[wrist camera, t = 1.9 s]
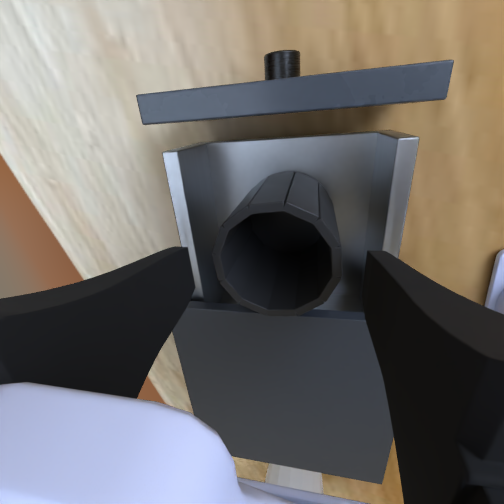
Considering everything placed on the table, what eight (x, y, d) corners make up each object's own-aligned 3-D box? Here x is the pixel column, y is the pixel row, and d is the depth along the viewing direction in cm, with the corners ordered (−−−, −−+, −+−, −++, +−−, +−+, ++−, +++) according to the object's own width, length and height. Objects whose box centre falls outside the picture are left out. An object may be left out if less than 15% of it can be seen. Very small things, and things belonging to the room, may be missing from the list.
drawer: (181, 76, 16) (127, 61, 11) (413, 47, 13) (464, 13, 9) (214, 288, 22) (189, 333, 18) (376, 296, 20) (395, 352, 15)
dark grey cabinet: (206, 253, 22) (165, 306, 16) (388, 258, 19) (421, 324, 13) (227, 378, 28) (203, 451, 22) (366, 396, 25) (382, 484, 19)
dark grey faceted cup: (331, 165, 15) (340, 195, 10) (334, 251, 18) (343, 317, 12) (239, 177, 17) (200, 209, 11) (253, 255, 19) (226, 316, 13)
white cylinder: (260, 461, 34) (247, 538, 28) (274, 431, 31) (264, 511, 24) (314, 480, 33) (314, 563, 27) (335, 452, 30) (340, 539, 24)
